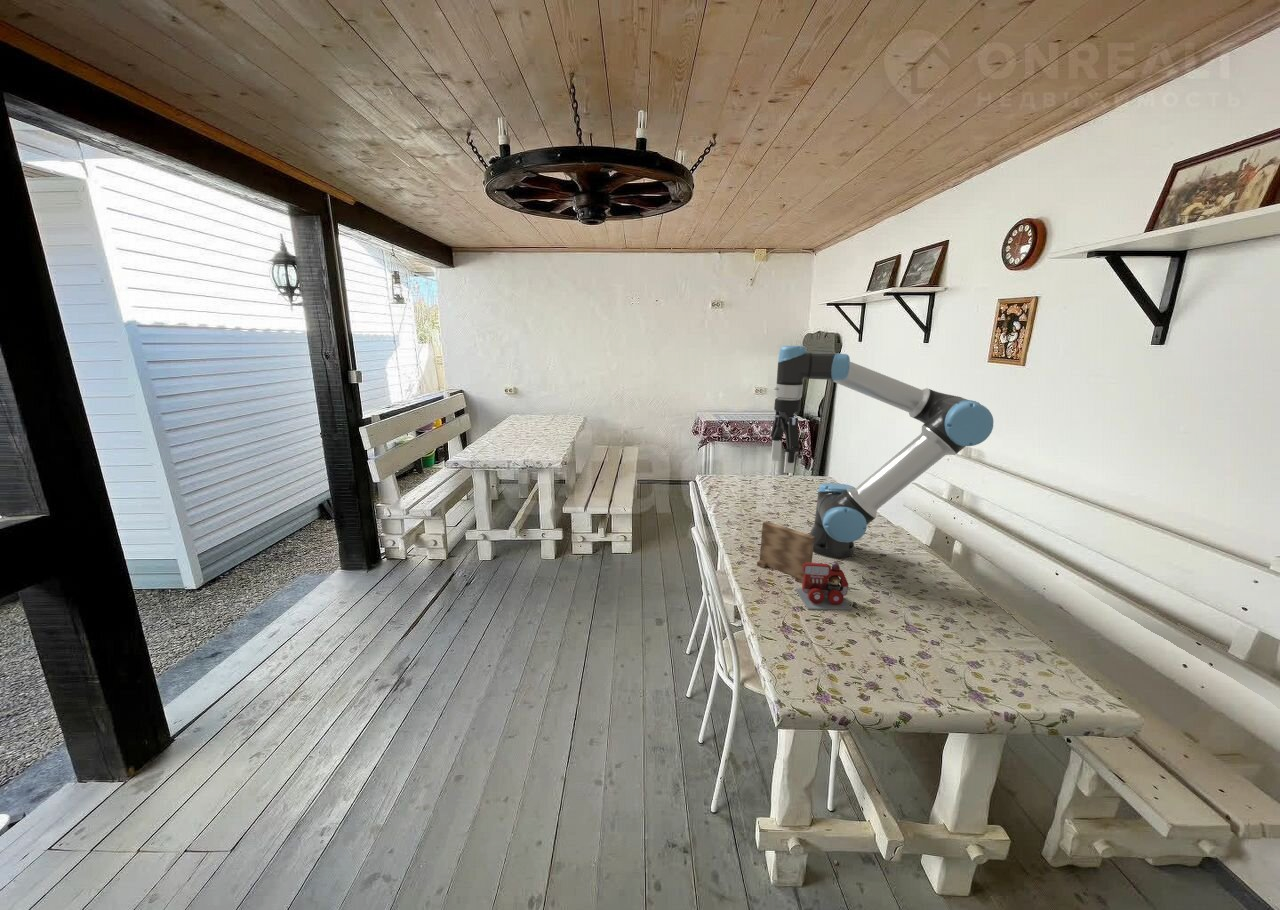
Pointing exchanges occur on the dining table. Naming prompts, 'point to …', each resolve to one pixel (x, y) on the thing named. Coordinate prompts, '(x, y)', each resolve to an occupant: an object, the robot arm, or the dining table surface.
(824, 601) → the mat
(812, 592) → the toy fire truck
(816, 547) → the robot arm
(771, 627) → the dining table surface
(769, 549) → the screen
